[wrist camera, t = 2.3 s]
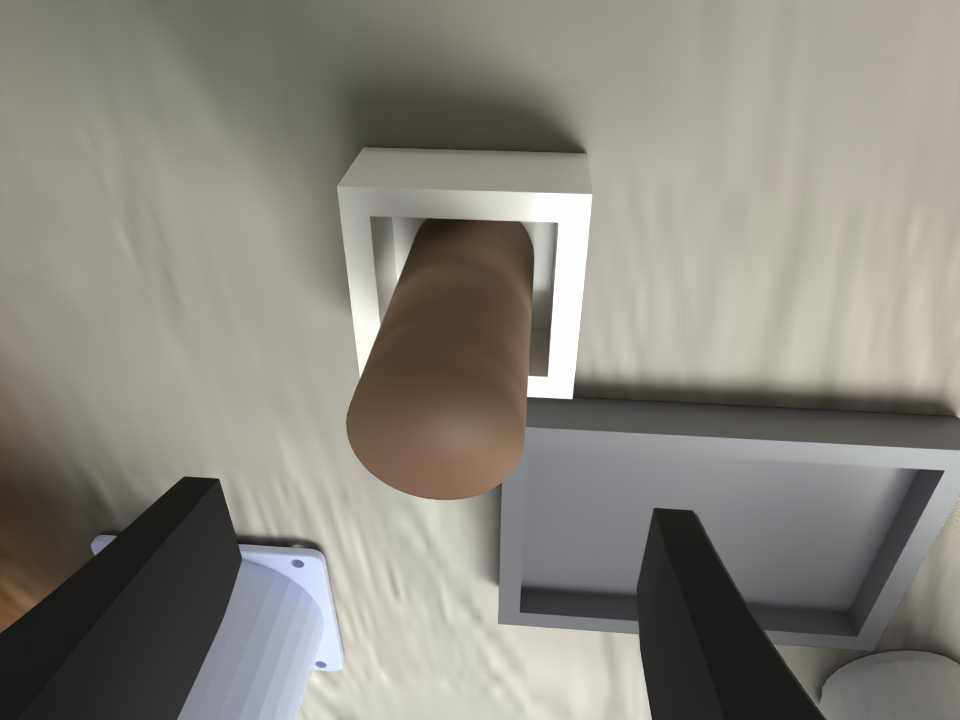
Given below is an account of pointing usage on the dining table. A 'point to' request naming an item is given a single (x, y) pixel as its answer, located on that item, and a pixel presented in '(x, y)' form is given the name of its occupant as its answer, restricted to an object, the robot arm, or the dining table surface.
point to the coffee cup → (894, 688)
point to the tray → (726, 510)
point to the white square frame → (475, 196)
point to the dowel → (450, 363)
